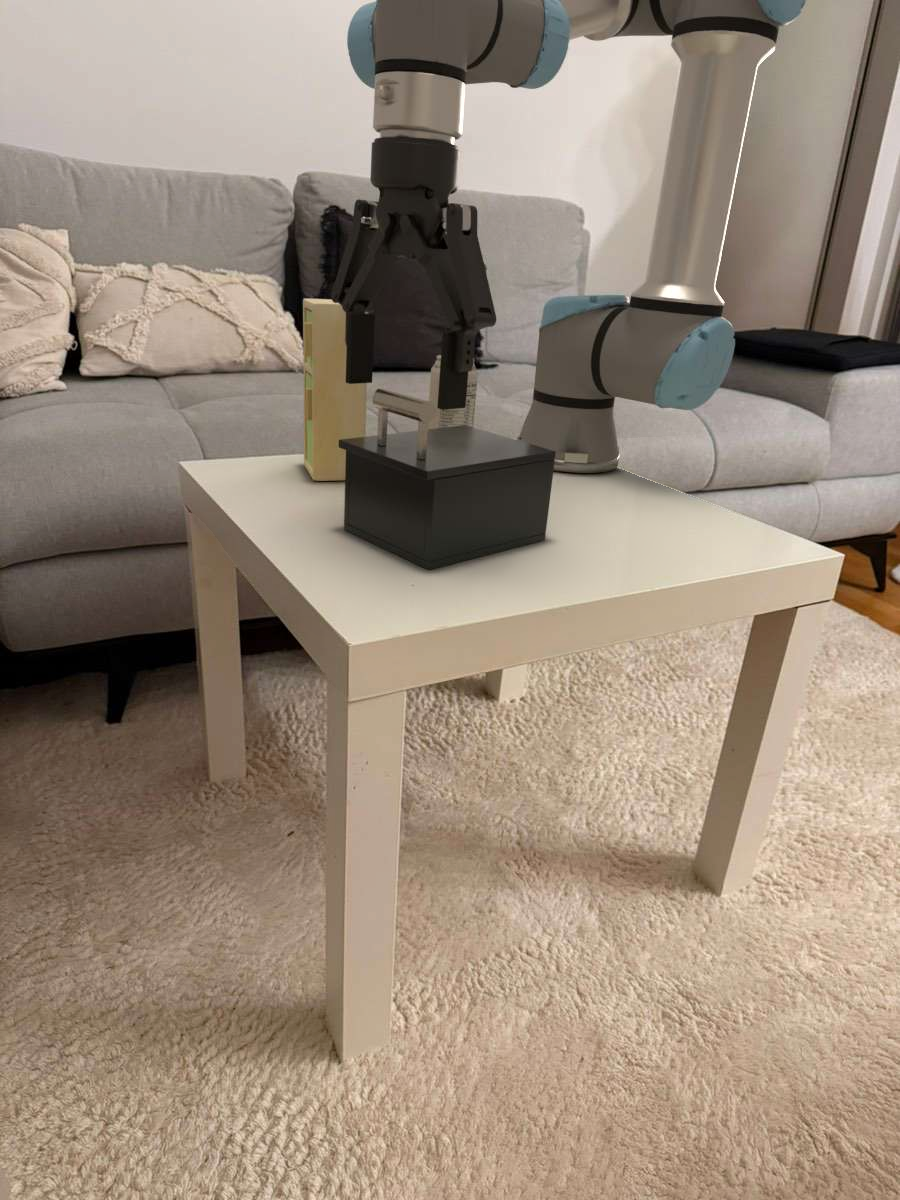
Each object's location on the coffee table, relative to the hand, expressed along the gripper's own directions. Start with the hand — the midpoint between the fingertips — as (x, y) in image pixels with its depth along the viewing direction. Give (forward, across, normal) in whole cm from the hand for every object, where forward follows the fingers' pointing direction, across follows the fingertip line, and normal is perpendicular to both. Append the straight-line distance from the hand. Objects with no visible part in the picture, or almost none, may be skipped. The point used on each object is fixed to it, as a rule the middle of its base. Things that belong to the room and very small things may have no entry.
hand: (402, 395), depth 80 cm
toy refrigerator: (+15, -26, +10) cm, 32 cm away
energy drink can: (+15, -19, +24) cm, 34 cm away
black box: (+15, 0, +7) cm, 17 cm away
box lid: (+6, 0, +6) cm, 9 cm away
